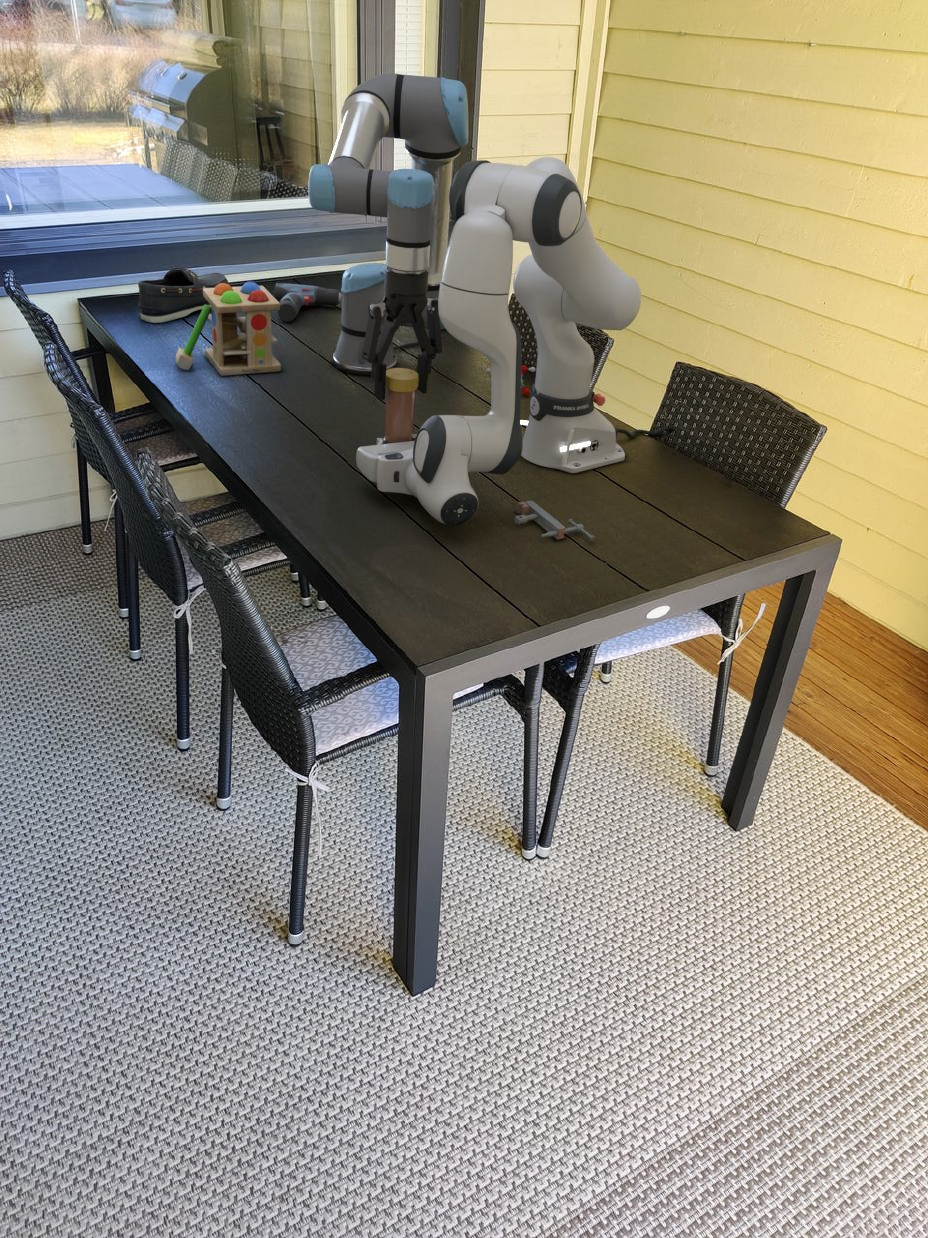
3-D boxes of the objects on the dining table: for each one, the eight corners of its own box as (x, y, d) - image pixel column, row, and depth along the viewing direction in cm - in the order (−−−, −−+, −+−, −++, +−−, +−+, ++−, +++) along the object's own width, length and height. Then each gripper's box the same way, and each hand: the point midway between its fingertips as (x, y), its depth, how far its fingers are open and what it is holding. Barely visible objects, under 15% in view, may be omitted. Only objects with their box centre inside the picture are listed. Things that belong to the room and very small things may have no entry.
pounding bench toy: (183, 379, 220) (176, 299, 210) (169, 357, 231) (162, 280, 221) (282, 371, 230) (280, 294, 220) (264, 350, 240) (262, 276, 230)
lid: (415, 379, 184) (416, 367, 183) (420, 392, 179) (421, 380, 178) (382, 379, 183) (382, 367, 182) (385, 391, 178) (386, 379, 176)
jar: (408, 467, 194) (414, 371, 183) (412, 479, 189) (418, 381, 178) (381, 467, 193) (385, 370, 182) (384, 479, 188) (388, 381, 177)
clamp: (504, 504, 179) (549, 495, 183) (503, 515, 180) (548, 506, 184) (550, 543, 168) (597, 532, 173) (548, 554, 169) (595, 543, 174)
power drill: (335, 306, 256) (344, 285, 273) (264, 300, 255) (277, 279, 272) (335, 327, 259) (344, 304, 276) (264, 320, 258) (277, 299, 275)
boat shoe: (248, 301, 272) (246, 262, 267) (158, 325, 248) (153, 283, 243) (214, 293, 278) (211, 255, 272) (123, 315, 254) (117, 274, 248)
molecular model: (531, 395, 220) (517, 352, 219) (493, 409, 224) (479, 367, 222) (543, 394, 231) (530, 352, 229) (507, 407, 234) (494, 366, 233)
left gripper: (446, 258, 177) (437, 379, 189) (342, 266, 166) (340, 394, 179) (469, 269, 172) (458, 393, 184) (363, 279, 161) (360, 409, 174)
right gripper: (477, 448, 180) (447, 418, 190) (372, 460, 172) (346, 429, 182) (474, 479, 183) (444, 448, 194) (371, 492, 175) (346, 460, 186)
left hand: (400, 393), depth 182 cm, fingers open, 8 cm apart
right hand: (396, 439), depth 188 cm, fingers closed on jar, 5 cm apart
